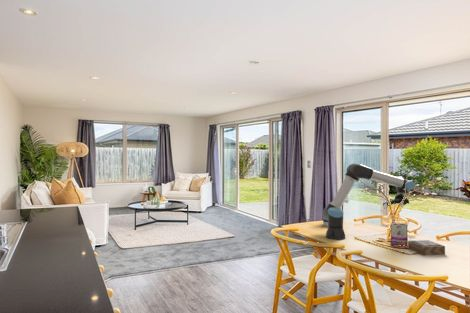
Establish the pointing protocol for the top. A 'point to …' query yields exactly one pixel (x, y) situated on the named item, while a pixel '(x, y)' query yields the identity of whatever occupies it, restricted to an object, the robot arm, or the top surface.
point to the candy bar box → (399, 234)
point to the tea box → (325, 221)
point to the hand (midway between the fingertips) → (392, 206)
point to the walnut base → (426, 247)
